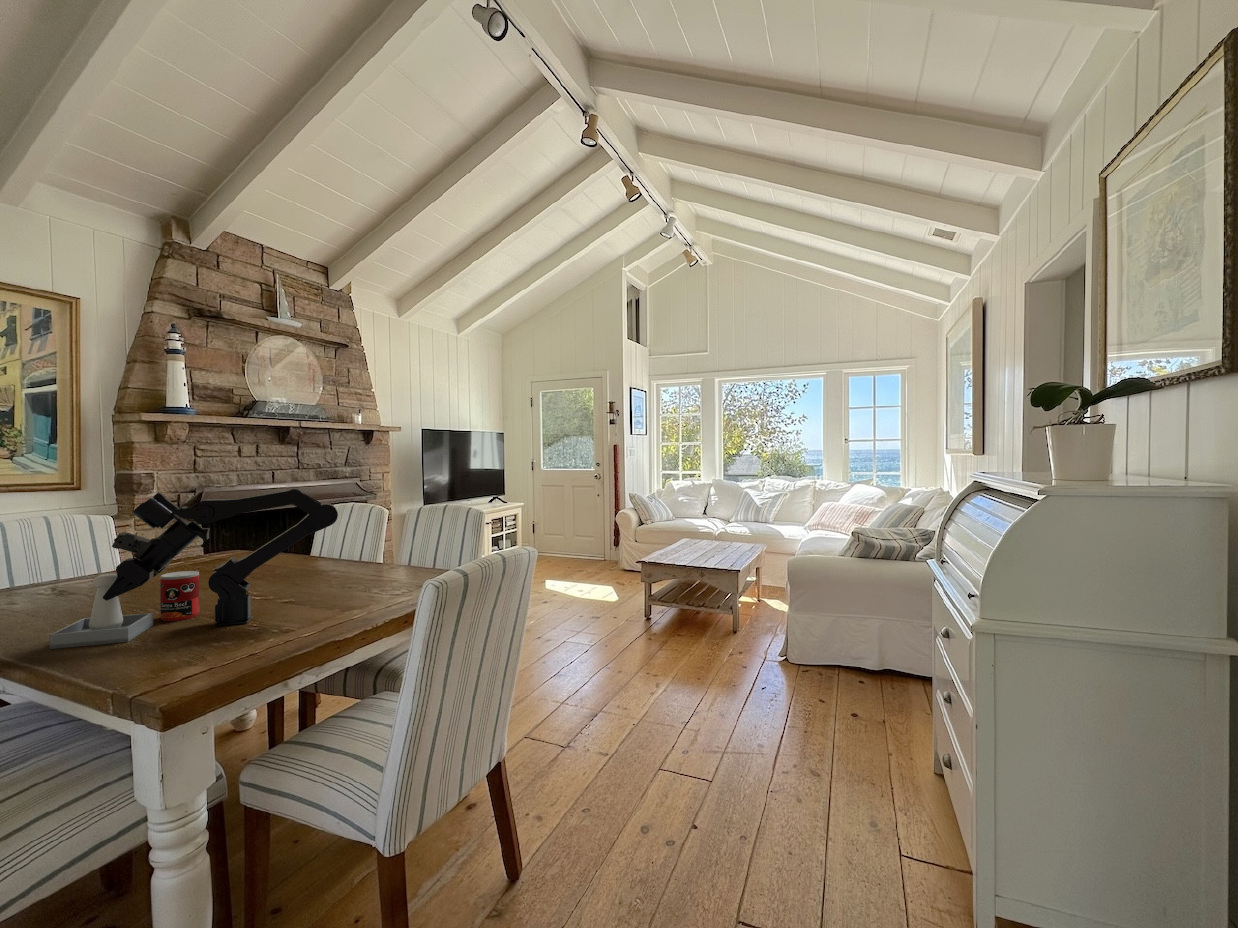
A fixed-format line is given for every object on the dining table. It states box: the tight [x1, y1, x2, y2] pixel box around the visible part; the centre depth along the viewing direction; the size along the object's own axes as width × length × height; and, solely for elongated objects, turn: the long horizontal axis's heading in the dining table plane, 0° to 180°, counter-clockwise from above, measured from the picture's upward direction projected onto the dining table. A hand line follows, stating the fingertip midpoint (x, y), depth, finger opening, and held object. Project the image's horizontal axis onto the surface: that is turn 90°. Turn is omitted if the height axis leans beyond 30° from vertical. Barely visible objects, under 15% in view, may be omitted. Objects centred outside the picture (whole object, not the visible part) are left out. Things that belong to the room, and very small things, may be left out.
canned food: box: [159, 570, 200, 622], centre depth 142 cm, size 8×8×11 cm
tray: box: [49, 612, 154, 650], centre depth 126 cm, size 13×13×3 cm
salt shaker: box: [89, 573, 124, 630], centre depth 126 cm, size 6×6×13 cm
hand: (111, 594), depth 127 cm, fingers open, 9 cm apart
